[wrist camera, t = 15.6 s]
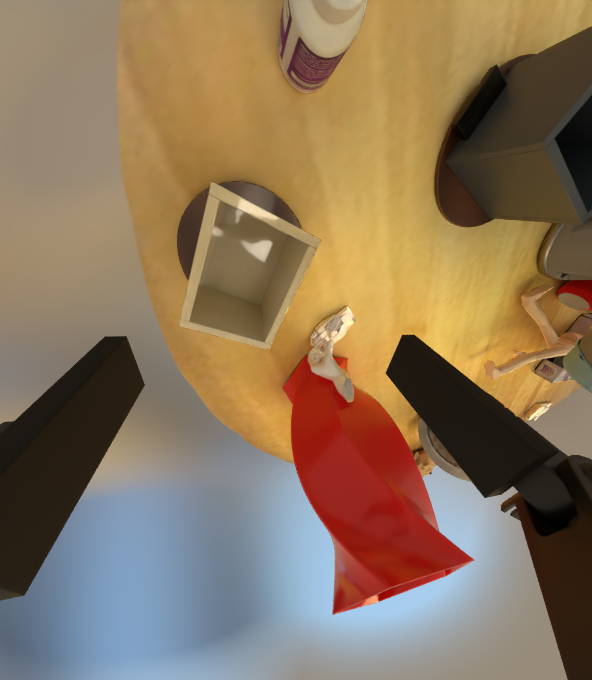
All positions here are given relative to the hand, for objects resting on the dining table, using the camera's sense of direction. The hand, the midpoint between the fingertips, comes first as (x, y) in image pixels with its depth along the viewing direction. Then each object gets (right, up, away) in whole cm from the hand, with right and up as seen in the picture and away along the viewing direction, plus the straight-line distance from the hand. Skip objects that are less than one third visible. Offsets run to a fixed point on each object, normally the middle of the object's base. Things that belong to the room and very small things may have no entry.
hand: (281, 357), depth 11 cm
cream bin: (-6, +10, +17) cm, 21 cm away
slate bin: (+25, +24, +15) cm, 38 cm away
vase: (+5, -7, +32) cm, 33 cm away
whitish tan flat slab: (+80, -22, +62) cm, 104 cm away
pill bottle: (+2, +27, +9) cm, 29 cm away
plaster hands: (+9, 0, +21) cm, 22 cm away
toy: (+45, -30, +54) cm, 76 cm away
